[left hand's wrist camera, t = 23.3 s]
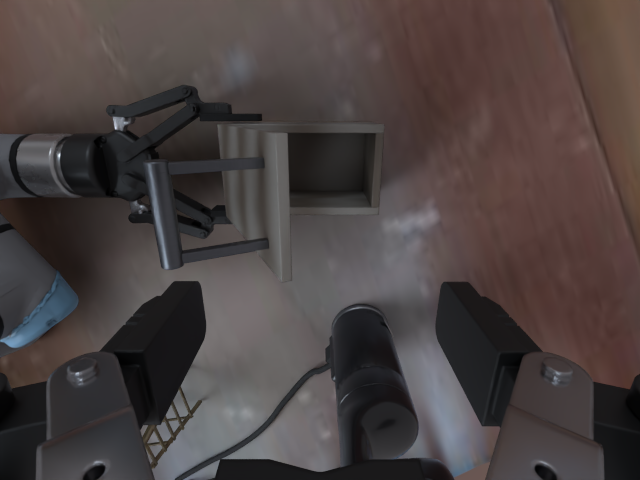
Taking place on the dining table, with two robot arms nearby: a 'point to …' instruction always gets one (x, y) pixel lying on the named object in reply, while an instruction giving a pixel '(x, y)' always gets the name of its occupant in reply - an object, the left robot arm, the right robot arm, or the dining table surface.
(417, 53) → the dining table surface
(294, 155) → the chest
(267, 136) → the panel with bar handle
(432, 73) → the dining table surface
